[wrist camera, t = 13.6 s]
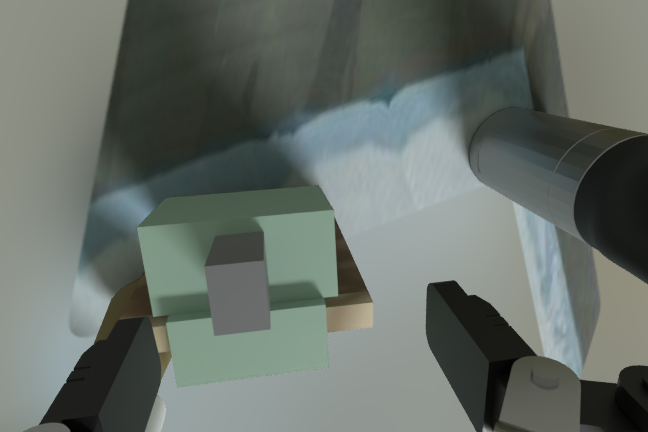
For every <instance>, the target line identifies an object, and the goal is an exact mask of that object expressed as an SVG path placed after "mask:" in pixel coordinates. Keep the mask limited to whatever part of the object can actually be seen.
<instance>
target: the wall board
mask: <svg viewBox="0 0 648 432" xmlns="http://www.w3.org/2000/svg"><path fill="white" fill-rule="evenodd" d="M334 223H335V243H336V262H337V282H338V296H335V297H326V298H324V301H325V305H326V321H327V332H335V331H344V330H352V329H360V328H369V327H373V301H372V299H371V297H370V294H369V292H368V290H367V288H366V286H365V283H364V281H363V279H362V277H361V275H360V272H359V270H358V268H357V266H356V264H355V261H354V259H353V257H352V255H351V253H350V250H349V248H348V246H347V244H346V241H345V239H344V237H343V235H342V233H341V230H340V228H339V226H338V224H337V222H336V219H335V217H334ZM145 316H147V317H149V319H150V321H151V324H152V328H153V332H154V336H155V340H156V345H157V349H158V353H160V352H168V351H171V349H170V343H169V338H168V332H167V326H166V322H167V319H168V317H169V315H166V316H157V317H153V313H152V307H151V302H150V297H149V291H148V286H147V280H146V275H145V272H144V274H143V276H142V278H141V279H140V281H139V283H138V285H137V287H136V289H135V291H134V293H133V294H132V296H131V298H130V300H129V302H128V304H127V306H126V308H125V309H124V311H123V313H122V315H121V317H120V319H128V318H136V317H145ZM120 319H119V320H120Z"/></svg>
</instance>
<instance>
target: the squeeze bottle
mask: <svg viewBox="0 0 648 432" xmlns="http://www.w3.org/2000/svg"><path fill="white" fill-rule="evenodd" d="M140 279H141V278H140ZM140 279H138V280H136V281H134V282H132V283H131V284H129V285H127V286H125V287H123V288H121V289H120V290H119V291H118V292H117V294H116V295H115V296H114V297H113V298H112V299H111V302H110V304H109V307H108V309H107V312H106V314H105V317H104V319H103V322H102V325H101V327H100V330H99V332H98V335H97V337H96V340H95V342H94V344H95V343H96V342H97V341H98V340H106V339H107V338H108V336H109V334H110V333H111V331H112V329H113V327H114V326H115V324H116V322H117V321H118V320H119V319H120V317H121V315H122V313H123V311H124V309H125V308H126V306H127V304H128V302H129V300H130V298H131V296H132V294H133V293H134V291H135V289H136V287H137V285H138V283H139V281H140ZM159 357H160V361H161V379H162V377H163V375H164V373H165V370H166V368H167V366H168V364H169V362H170V359H171V357H172V355H171V351H168V352H160V353H159Z"/></svg>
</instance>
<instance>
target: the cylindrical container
mask: <svg viewBox="0 0 648 432" xmlns="http://www.w3.org/2000/svg"><path fill="white" fill-rule="evenodd" d="M165 413H166V407H165V404H164V402H163V400H162V399H161V398H160V396H158V395H157V396H156V399H155V402H154V405H153V408H152V411H151V414H150V417H149V420H148V423H147V427H146V430H145V432H161V429H162V424H163V421H164V417H165Z"/></svg>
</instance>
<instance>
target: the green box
mask: <svg viewBox="0 0 648 432" xmlns="http://www.w3.org/2000/svg"><path fill="white" fill-rule="evenodd" d="M137 231H138V237H139V242H140V248H141V253H142V258H143V264H144V269H145V275H146V280H147V286H148V291H149V297H150V302H151V307H152V313H153V317H157V316H166V315H169V317H168V319H167V322H166V326H167V332H168V338H169V343H170V349H171V355H172V360H173V366H174V372H175V378H176V383H177V387H184V386H192V385H200V384H206V383H214V382H222V381H230V380H237V379H245V378H253V377H261V376H268V375H276V374H284V373H291V372H299V371H306V370H314V369H321V368H329V355H328V337H327V321H326V305H325V301H324V298H326V297H335V296H338V282H337V262H336V243H335V223H334V209H333V208H332V206H331V205H330V203H329V201H328V200H327V198H326V196H325V195H324V193H323V192H322V190H321V188H320V187H319V185H315V186H303V187H291V188H279V189H266V190H254V191H242V192H230V193H218V194H205V195H193V196H181V197H169V198H165V199H164V200H163V201H162V202H161V203H160V204H159V205H158V206H157V207H156V208H155V209H154V210H153V211H152V212H151V214H150V215H149V216H148V217H147V218H146V219H145V220H144V221H143V222H142V223H141V224H140V225H139V226H138V227H137Z"/></svg>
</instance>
